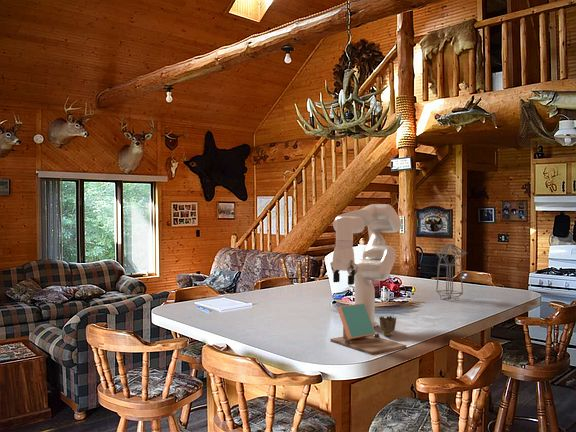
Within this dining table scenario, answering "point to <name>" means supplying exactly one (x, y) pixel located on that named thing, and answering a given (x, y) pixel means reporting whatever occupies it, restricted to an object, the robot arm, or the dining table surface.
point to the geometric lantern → (450, 268)
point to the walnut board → (368, 344)
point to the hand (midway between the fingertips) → (343, 283)
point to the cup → (387, 325)
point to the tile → (356, 321)
